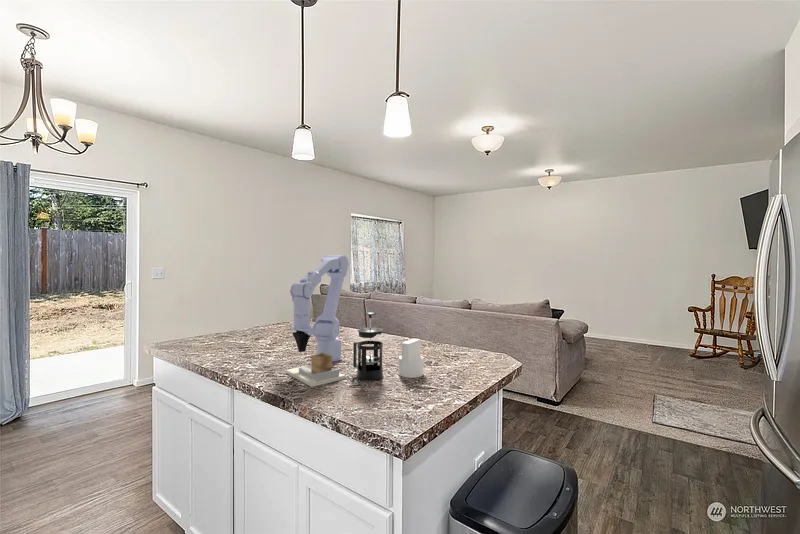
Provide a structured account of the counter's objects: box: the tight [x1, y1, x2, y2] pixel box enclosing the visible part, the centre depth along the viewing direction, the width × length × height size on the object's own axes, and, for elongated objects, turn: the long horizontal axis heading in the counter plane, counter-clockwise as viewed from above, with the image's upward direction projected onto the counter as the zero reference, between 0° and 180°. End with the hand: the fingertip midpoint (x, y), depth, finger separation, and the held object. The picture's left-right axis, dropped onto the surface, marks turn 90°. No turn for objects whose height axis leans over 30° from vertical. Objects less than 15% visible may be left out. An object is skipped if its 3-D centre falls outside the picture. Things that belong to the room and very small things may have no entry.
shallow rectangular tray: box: [285, 364, 346, 388], centre depth 132 cm, size 13×19×4 cm
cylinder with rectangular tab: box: [398, 338, 424, 379], centre depth 136 cm, size 9×9×12 cm
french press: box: [352, 311, 384, 382], centre depth 131 cm, size 12×9×23 cm
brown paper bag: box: [310, 353, 333, 374], centre depth 129 cm, size 5×5×8 cm
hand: (302, 351), depth 137 cm, fingers closed
